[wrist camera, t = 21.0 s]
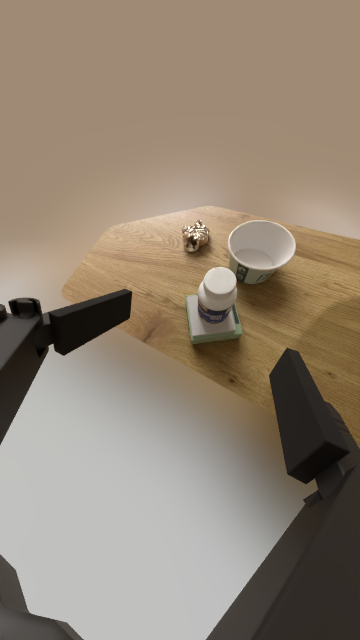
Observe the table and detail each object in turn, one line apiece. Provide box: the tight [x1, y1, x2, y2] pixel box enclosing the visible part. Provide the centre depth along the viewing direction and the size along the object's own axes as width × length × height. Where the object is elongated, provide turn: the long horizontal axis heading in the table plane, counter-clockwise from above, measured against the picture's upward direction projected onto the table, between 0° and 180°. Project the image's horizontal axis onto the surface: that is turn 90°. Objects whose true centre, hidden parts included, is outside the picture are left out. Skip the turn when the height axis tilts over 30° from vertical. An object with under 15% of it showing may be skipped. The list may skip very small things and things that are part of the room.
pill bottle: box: [198, 267, 237, 325], centre depth 24 cm, size 5×5×10 cm
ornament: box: [182, 220, 210, 252], centre depth 39 cm, size 8×7×4 cm
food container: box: [228, 220, 296, 284], centre depth 33 cm, size 12×12×6 cm
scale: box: [185, 294, 243, 344], centre depth 31 cm, size 9×9×4 cm
